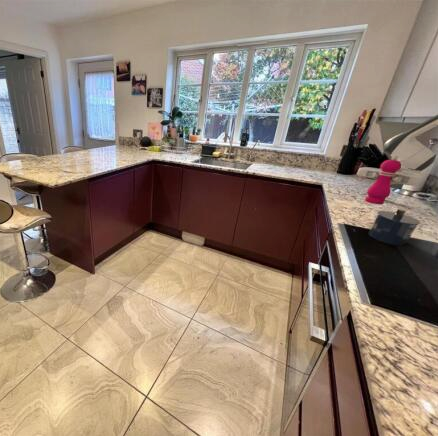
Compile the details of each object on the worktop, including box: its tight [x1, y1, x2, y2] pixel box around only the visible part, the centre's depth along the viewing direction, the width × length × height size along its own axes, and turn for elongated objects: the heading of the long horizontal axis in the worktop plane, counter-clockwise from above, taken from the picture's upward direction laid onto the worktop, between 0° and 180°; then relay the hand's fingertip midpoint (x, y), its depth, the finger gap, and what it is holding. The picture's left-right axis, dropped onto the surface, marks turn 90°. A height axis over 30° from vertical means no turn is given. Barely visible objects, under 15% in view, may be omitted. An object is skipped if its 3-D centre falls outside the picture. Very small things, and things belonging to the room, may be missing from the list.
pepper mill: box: [364, 156, 401, 206], centre depth 98 cm, size 7×7×20 cm
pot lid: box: [376, 208, 421, 226], centre depth 93 cm, size 13×13×4 cm
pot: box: [368, 214, 418, 247], centre depth 96 cm, size 12×12×10 cm
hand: (384, 178), depth 97 cm, fingers closed on pepper mill, 5 cm apart
